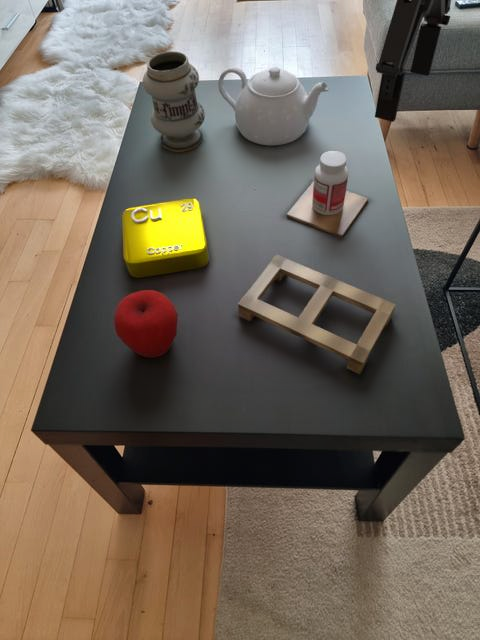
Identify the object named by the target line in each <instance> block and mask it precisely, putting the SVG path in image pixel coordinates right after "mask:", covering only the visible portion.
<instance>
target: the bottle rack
mask: <svg viewBox="0 0 480 640" xmlns="http://www.w3.org/2000/svg"><path fill="white" fill-rule="evenodd" d="M284 276H286V277H289V278H291V279H293V280H296V281H298V282H301V283H303V284H305V285H308V286H310V287H312V288H314V289H317V290H316V291H315V292H314V294H313V295H312V297H311V298H310V300H309V301H308V303H307V304H306V305H305V307H304V309H303V310H302V312H301V313H300V314H299V316H296V315H294V314H292V313H290V312H287V311H285V310H284V309H283V310H282V309H280V308H278V307H276V306H274V305H272V304H270V303H267V302H265V301H263V300H261V299H262V298H263V296H264V295H265V294H266V293H267V291H268V290H269V288H270V287H271V286H272V284H273V283H274V282H275V281H277V282H281V281H282V280H283V278H284ZM332 297H336V298H337V299H340V300H342V301H345V302H347V303H349V304H351V305H354V306H356V307H359V308H360V309H363V310H366V311H367V312H370V313H373V316H372V317H371V319H370V321H369V323H368V324H367V326H366V328H365V329H364V331H363V332H362V335H361V336H360V338H359V340H358V342H357V343H354V342H352V341H350V340H348V339H345V338H343V337H341V336H339V335H337V334H335V333H332V332H330V331H328V330H326V329H324V328H321V327H320V326H318V325H315V323H316V321H317V320H318V318H319V317H320V315H321V314H322V312H323V311H324V309H325V308H326V306H327V305H328V303H329V302H330V300H331V298H332ZM237 305H238V317H240V318H242V319H244V320H246V321H248V322H251V321H252V320H253V318H254V317H256V318H259V319H261V320H262V321H265V322H267V323H269V324H270V325H273V326H276V327H277V328H279V329H282V330H284V331H286V332H288V333H290V334H292V335H294V336H296V337H298V338H300V339H301V340H302V339H303V340H304V341H306V342H308V343H311V344H313V345H315V346H317V347H319V348H322V349H323V350H325V351H328V352H330V353H332V354H334V355H336V356H338V357H340V358H341V359H345V360H347V366H346V369H348V370H350V371H351V372H354V373H356V374H358V375H361V373H362V372H363V370H364V368H365V366H366V364H367V362H368V359H369V356H370V354H371V352H372V350H373V348H374V347H375V345H376V344H377V341H378V339H379V338H380V336H381V334H382V332H383V330H384V329H385V328H387V326H388V325H389V323H390V321H391V319H392V318H393V314H394V311H395V309H396V306H397V304H396V303H393V302H391V301H389V300H386V299H384V298H381V297H379V296H376V295H374V294H372V293H370V292H367V291H365V290H362V289H360V288H357V287H355V286H353V285H350V284H348V283H346V282H343V281H341V280H338V279H336V278H334V277H331V276H329V275H327V274H324V273H321V272H319V271H317V270H315V269H312V268H310V267H307V266H305V265H302V264H300V263H298V262H296V261H293V260H290V259H288V258H285V257H283V256H281V255H279V254H275V256H274V257H273V258H272V260H271V261H270V262H269V264H267V266H266V267H265V269H264V270H263V272H261V274H260V275H259V276H258V277H257V279H256V280H255V282H254V283H253V284H252V285H251V287H250V288H249V289H248V290H247V292H246V293H245V294H244V295H243V297H242V298H241V300H240V301H239V302H238V303H237Z"/></svg>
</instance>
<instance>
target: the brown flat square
mask: <svg viewBox="0 0 480 640" xmlns="http://www.w3.org/2000/svg"><path fill="white" fill-rule="evenodd" d="M313 188H314V180H313V181H312V182H311V184H310V185H309V186H308V187H307V188H306V190H305V191H304V192H303V193H302V195H301V196H300V197H299V198H298V199H297V201H295V203H294V205H293V206H292V207H291V208H290V209H289V210H288V212H287V213H286V217H287V218H289V219H291V220H295V221H297V222H300V223H303V224H305V225H308V226H310V227H314V228H316V229H319V230H321V231H323V232H327V233H329V234H332V235H334V236H337V237H339V238H343V236H345V234H346V233H347V231H349V229H350V227H351V226H352V224H353V222H354V221H355V220H356V218H357V217H358V215H360V213H361V211H362V210H363V208H364V207H365V206H366V204H367V202H368V201H369V197H366V196H363V195H361V194H357V193H355V192H351V191H348V190H346V194H345V201H344V206H343V209H342V210H341V211H340V212H339V213H337V214H334V215H323V214H320V213H318V212H316V211H315V210H314V208H313V205H312V201H313Z"/></svg>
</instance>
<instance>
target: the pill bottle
mask: <svg viewBox="0 0 480 640" xmlns="http://www.w3.org/2000/svg"><path fill="white" fill-rule="evenodd" d="M346 165H347V155H345V153H343V152H341V151H338V150H329V151H325V152H323V153H322V154H321V155H320V158H319V164H318V165H317V166H316V168H315V170H314V178H313V181H314V188H313V201H312V205H313V208H314V210H315V211H316V212H318V213H320V214H323V215H334V214H337V213H339V212H340V211H341V210H342V209H343V206H344V201H345V194H346V191H347V186H348V180H349V168H348V167H347V166H346Z"/></svg>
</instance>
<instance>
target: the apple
mask: <svg viewBox="0 0 480 640" xmlns="http://www.w3.org/2000/svg"><path fill="white" fill-rule="evenodd" d="M113 316H114V317H113V325H114V329H115V334H116V336H118V338H119V339H120V340H121V341H122V342H123V343H124V344H125V345H126V346H127V347H128V348H129V349H130V350H132V351H133V352H134V353H136V354H137V355H139V356H140V357H141V356H142V357H145V358H157V357H160V356H163V355H165V354H166V353H167V352H168V351H169V350H170V349H171V347H172V345H173V343H174V341H175V338H176V337H177V330H178V319H179V318H178V317H179V316H178V312H177V308H176V306H175V305H174V304H173V302H172V301H171V300H170V299H169V298H168V297H167V296H166V295H165V294H164V293H162V292H159V291H156V290H154V289H147V290H146V289H145V290H139V291H135V292H131V293H130V294H128V295H126V296H125V297H124V298H122V299H121V300H120V301H119V303H118V305H117V306H116V308H115V312H114V315H113Z"/></svg>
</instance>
